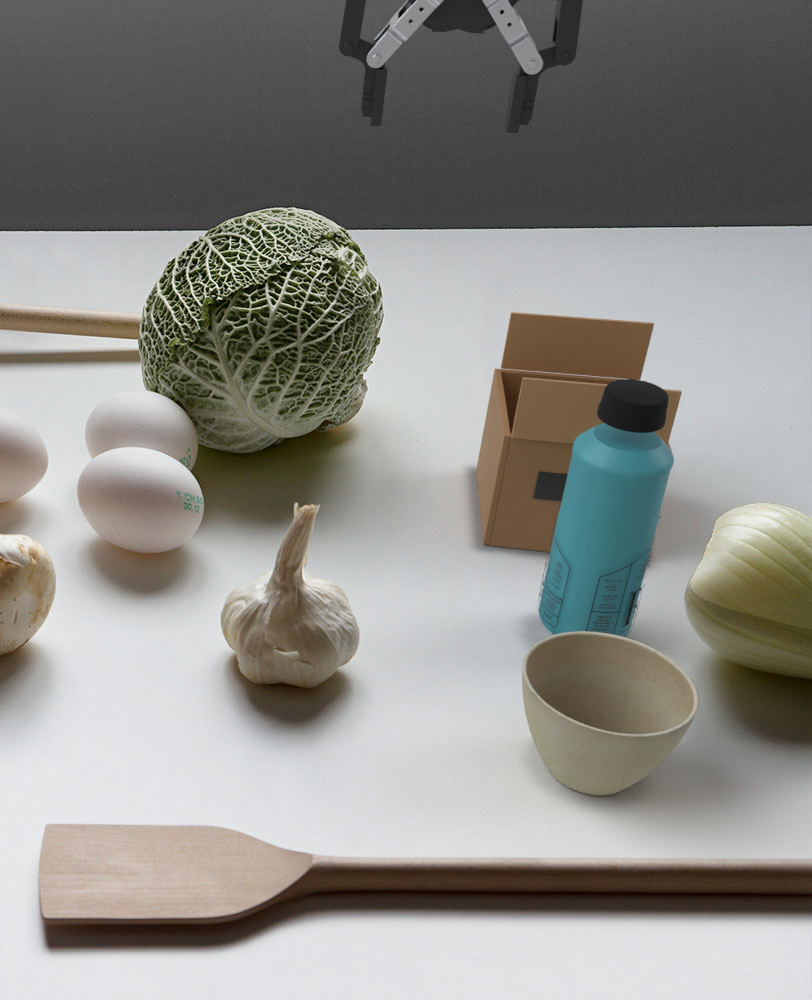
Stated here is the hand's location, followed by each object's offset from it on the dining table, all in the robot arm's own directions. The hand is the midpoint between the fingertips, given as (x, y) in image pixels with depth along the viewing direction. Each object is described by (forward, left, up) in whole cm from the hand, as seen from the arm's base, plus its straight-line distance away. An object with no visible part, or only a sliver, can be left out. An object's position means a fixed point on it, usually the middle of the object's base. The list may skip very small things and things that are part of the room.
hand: (442, 127), depth 84 cm
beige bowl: (-13, +21, -34) cm, 42 cm away
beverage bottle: (-14, +7, -34) cm, 38 cm away
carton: (-14, -10, -34) cm, 38 cm away
